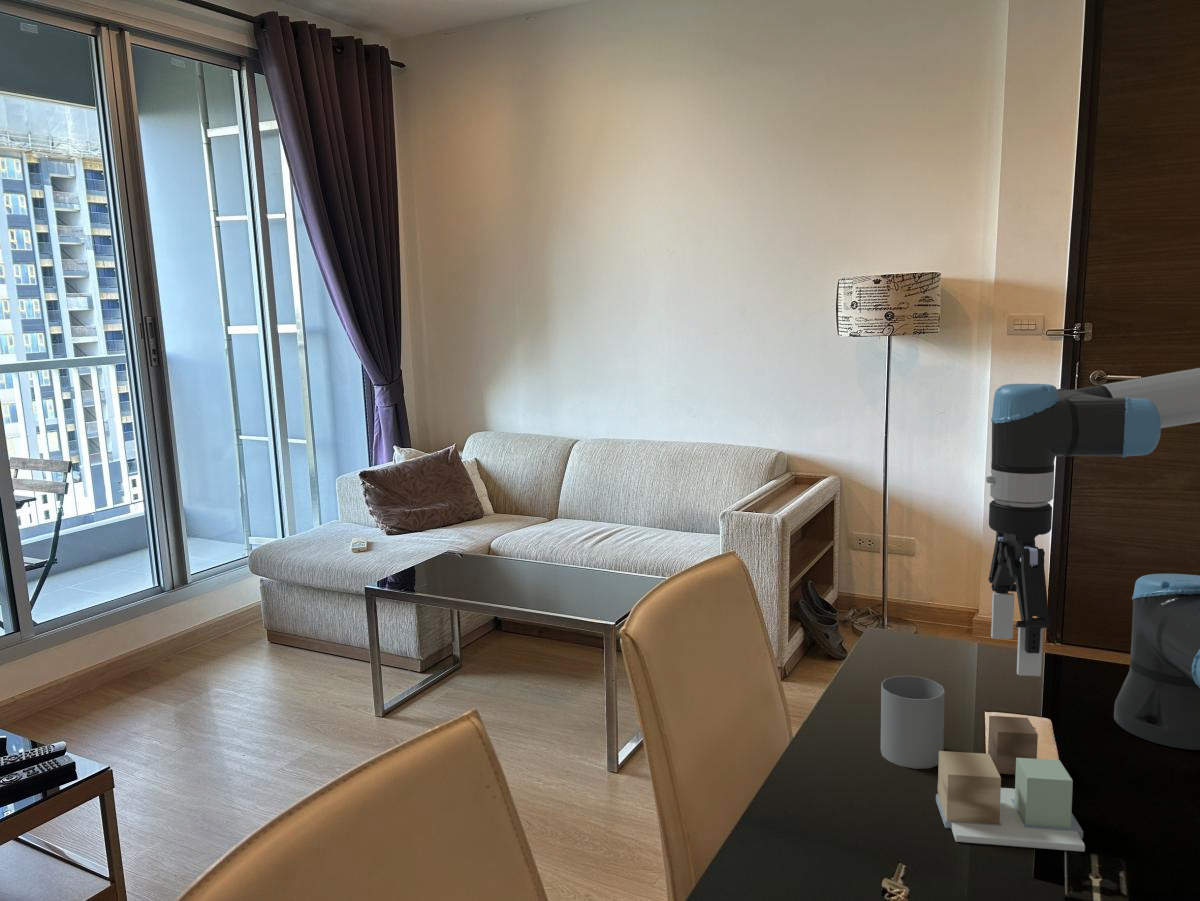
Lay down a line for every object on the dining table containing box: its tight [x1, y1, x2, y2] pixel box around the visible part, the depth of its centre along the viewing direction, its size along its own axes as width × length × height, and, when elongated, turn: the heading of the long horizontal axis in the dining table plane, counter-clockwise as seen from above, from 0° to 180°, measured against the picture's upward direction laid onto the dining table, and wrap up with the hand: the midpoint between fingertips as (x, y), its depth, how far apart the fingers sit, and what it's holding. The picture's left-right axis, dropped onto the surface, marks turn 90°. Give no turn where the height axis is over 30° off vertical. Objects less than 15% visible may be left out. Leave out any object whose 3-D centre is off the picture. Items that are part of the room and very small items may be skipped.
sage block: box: [1014, 758, 1074, 828], centre depth 107 cm, size 5×5×6 cm
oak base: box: [937, 750, 1002, 825], centre depth 109 cm, size 6×6×6 cm
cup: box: [880, 675, 946, 770], centre depth 125 cm, size 8×8×10 cm
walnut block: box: [987, 715, 1039, 775], centre depth 121 cm, size 5×5×6 cm
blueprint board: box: [935, 787, 1086, 853], centre depth 108 cm, size 15×12×1 cm
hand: (1014, 655), depth 119 cm, fingers open, 13 cm apart
